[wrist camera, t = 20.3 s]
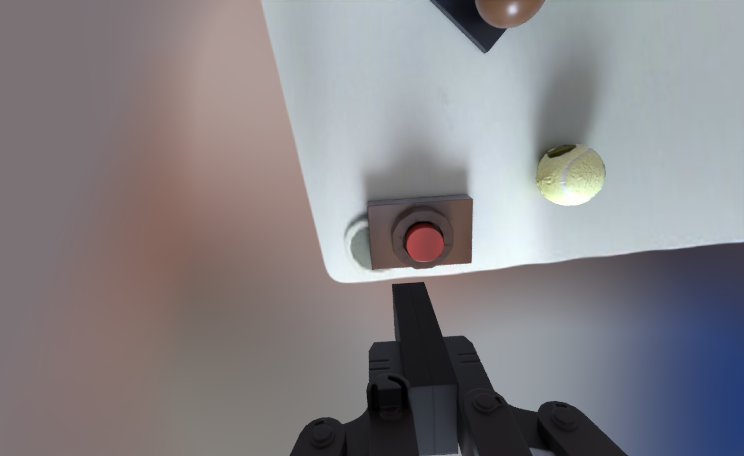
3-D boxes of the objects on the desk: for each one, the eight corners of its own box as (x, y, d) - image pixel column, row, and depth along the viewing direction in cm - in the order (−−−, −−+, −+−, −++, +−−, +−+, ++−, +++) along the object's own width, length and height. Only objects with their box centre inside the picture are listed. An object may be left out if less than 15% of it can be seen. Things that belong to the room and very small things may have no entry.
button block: (371, 263, 45) (372, 276, 41) (367, 201, 42) (367, 210, 38) (466, 256, 45) (476, 269, 41) (467, 194, 42) (477, 202, 38)
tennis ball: (585, 188, 42) (624, 201, 36) (530, 205, 43) (558, 221, 36) (577, 135, 40) (617, 139, 34) (519, 154, 41) (548, 162, 34)
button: (405, 257, 41) (407, 263, 39) (404, 223, 39) (406, 228, 38) (440, 254, 41) (443, 260, 39) (440, 221, 39) (443, 226, 38)
